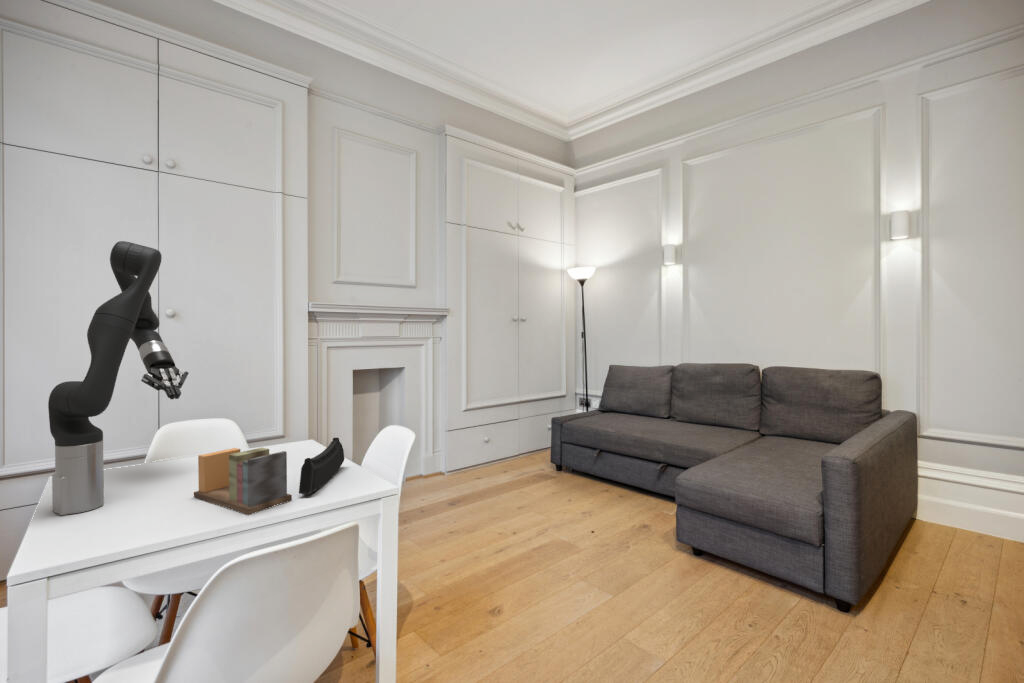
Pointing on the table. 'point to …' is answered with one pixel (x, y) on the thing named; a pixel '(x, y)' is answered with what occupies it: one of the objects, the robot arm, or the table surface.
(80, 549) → the table surface
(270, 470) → the book row
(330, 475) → the magazine
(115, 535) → the table surface
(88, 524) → the table surface
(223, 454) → the loose bookend
